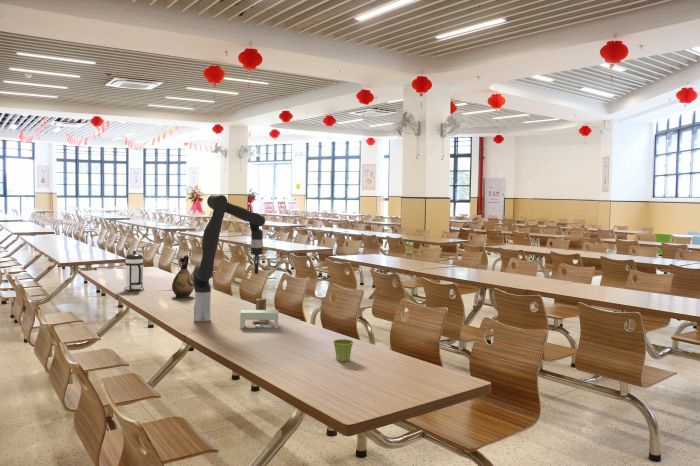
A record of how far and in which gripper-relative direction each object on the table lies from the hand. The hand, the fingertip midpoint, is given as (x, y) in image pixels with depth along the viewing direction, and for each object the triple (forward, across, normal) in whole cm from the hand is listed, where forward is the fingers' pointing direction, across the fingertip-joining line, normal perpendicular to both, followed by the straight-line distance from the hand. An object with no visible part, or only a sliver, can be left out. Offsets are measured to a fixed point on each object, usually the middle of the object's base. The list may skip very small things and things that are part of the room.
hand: (256, 273), depth 361 cm
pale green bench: (+25, +39, +4) cm, 47 cm away
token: (+25, +38, +4) cm, 46 cm away
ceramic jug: (+25, -55, -54) cm, 81 cm away
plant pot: (+25, +105, +44) cm, 117 cm away
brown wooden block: (+25, +24, +4) cm, 35 cm away
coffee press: (+25, -82, -94) cm, 127 cm away
